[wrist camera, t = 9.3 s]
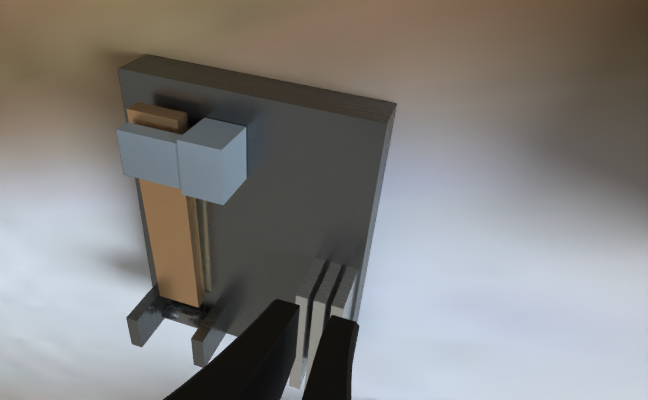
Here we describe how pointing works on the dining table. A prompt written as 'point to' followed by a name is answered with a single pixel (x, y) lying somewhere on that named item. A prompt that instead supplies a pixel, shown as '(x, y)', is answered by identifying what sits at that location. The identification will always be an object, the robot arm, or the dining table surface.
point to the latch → (187, 158)
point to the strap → (172, 227)
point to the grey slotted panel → (273, 201)
